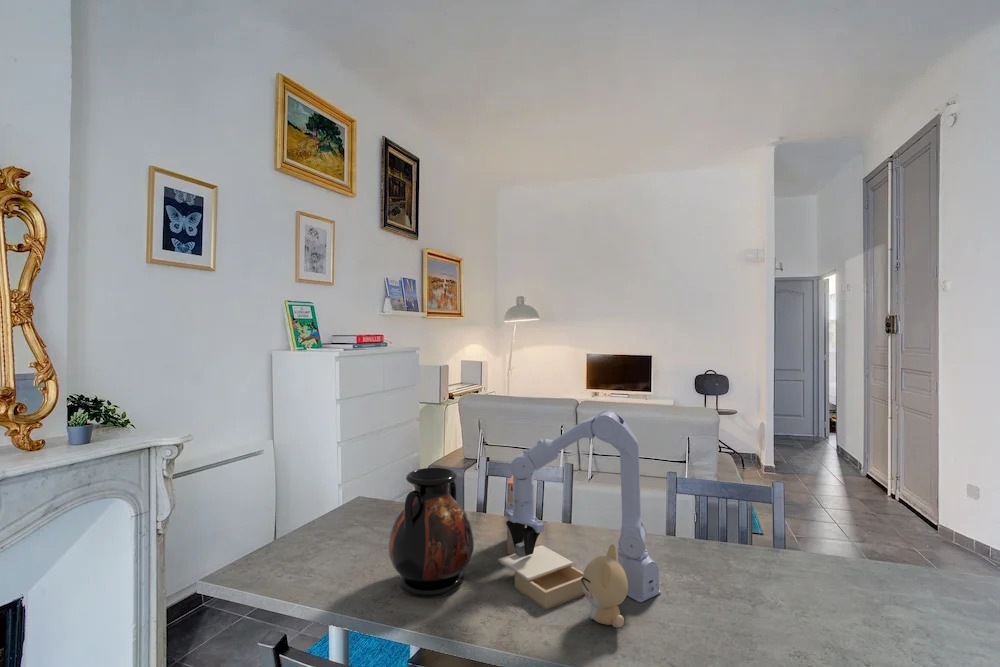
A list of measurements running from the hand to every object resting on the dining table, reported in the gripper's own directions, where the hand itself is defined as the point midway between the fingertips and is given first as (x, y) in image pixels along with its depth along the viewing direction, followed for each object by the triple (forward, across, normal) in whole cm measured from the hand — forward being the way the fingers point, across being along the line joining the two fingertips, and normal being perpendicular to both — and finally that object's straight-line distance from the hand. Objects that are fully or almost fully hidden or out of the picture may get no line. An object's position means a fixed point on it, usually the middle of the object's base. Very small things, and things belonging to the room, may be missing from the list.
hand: (523, 550), depth 129 cm
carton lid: (+1, +5, 0) cm, 5 cm away
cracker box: (+6, -14, +9) cm, 17 cm away
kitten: (+6, +28, +2) cm, 28 cm away
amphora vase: (+6, -8, -23) cm, 25 cm away
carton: (+6, +12, 0) cm, 13 cm away
